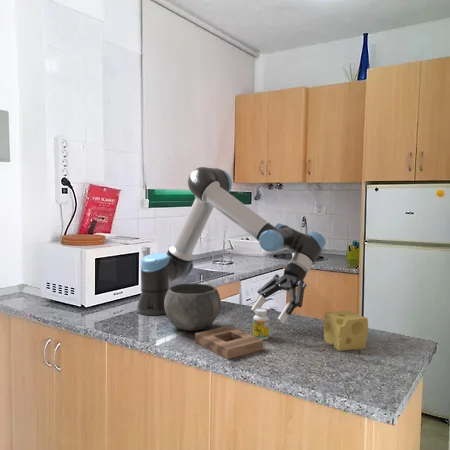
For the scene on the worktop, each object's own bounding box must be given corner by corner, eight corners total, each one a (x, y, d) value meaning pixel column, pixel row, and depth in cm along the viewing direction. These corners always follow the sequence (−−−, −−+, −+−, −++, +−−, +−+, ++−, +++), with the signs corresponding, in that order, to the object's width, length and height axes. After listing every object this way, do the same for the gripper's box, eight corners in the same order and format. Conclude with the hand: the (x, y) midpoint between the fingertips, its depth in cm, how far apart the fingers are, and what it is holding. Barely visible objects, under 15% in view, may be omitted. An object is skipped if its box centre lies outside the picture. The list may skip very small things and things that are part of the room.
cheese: (338, 351, 132) (339, 320, 132) (322, 340, 143) (322, 311, 142) (367, 348, 135) (368, 318, 134) (349, 337, 145) (350, 309, 145)
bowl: (152, 328, 154) (152, 287, 153) (195, 317, 169) (195, 279, 168) (188, 342, 140) (188, 297, 139) (231, 328, 154) (231, 288, 153)
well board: (195, 342, 140) (195, 333, 139) (228, 334, 148) (228, 325, 148) (227, 359, 125) (227, 349, 125) (263, 349, 134) (263, 340, 133)
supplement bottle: (271, 337, 145) (272, 310, 144) (261, 341, 141) (262, 313, 140) (260, 333, 149) (260, 307, 148) (249, 337, 145) (250, 309, 144)
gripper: (330, 280, 145) (298, 331, 137) (278, 270, 164) (249, 314, 157) (319, 266, 141) (287, 318, 133) (268, 257, 161) (238, 302, 153)
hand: (266, 316), depth 145 cm, fingers open, 13 cm apart
